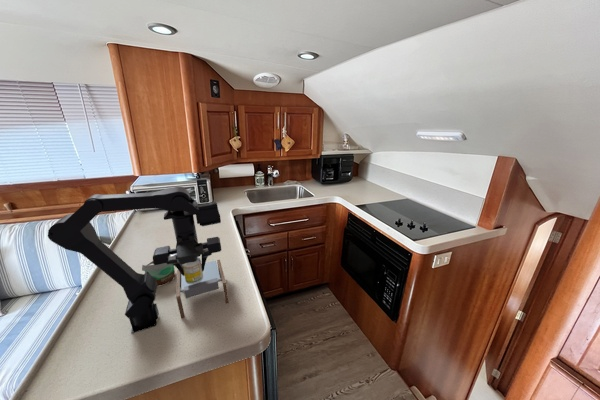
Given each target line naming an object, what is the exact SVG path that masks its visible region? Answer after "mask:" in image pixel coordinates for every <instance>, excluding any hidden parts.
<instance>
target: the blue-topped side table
mask: <svg viewBox="0 0 600 400" xmlns="http://www.w3.org/2000/svg"><path fill="white" fill-rule="evenodd" d="M216 263H217V267H218V271H219V275H220V278H221V279H222V281H221V283H222V290H223V294H224V295H223V296H224V301H225V305H226V304H229V302H230V301H229V295H228V287H227V281H226V278H225V274H224V271H223V267H222V266H223V265H222V263H221V259H217V260H216ZM175 289H176V291H175V299H176V302H177V307H178V312H179V314H180V315H179V316H180V319H183V318H185V317H186V315H185V311H184V310H185V309H184V306H183V302H182V297H181V292H180V289H181V273H180V271H179V270H178V269H177V270H176V287H175Z"/></svg>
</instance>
